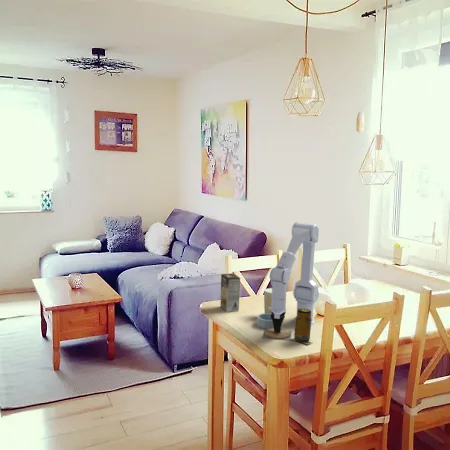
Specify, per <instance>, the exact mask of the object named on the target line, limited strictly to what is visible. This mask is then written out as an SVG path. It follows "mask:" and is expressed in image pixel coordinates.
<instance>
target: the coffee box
mask: <svg viewBox="0 0 450 450" xmlns="http://www.w3.org/2000/svg"><path fill="white" fill-rule="evenodd" d="M220 276H221V279H220V308H222V309H223V311H225V312H226V313H231V312H232V313H233V312H239V311H240V292H241V291H240V289H241V277H240V276H238V275H236V274H235V273H233V272H232V273H222V274H221V275H220Z"/></svg>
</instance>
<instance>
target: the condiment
mask: <svg viewBox="0 0 450 450" xmlns="http://www.w3.org/2000/svg"><path fill="white" fill-rule="evenodd" d="M295 318H296V323H295V322H294V323H295V326H294V334H293V335H294V337H291V338H290V339H291V340H292V341H295V342H298V343H301V344H306V345H312V344H313V342H311V341H310V340H311V329H312V324H311V319H312V318H311V310H309V309H304V308H300V309H298V313H297V312H296V315H295ZM291 340H290V341H291Z"/></svg>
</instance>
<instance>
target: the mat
mask: <svg viewBox="0 0 450 450" xmlns="http://www.w3.org/2000/svg"><path fill="white" fill-rule="evenodd" d="M265 330H267V329H266V328H264V331H263V334H262V337H261V338H262V339H266V340H278V341H289V342H291V339H290V338H292V331H291V330H288V331H289V332H290V336H289V337H288V338H285V339H274V338H270V337H267V336H266V335H265Z"/></svg>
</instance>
